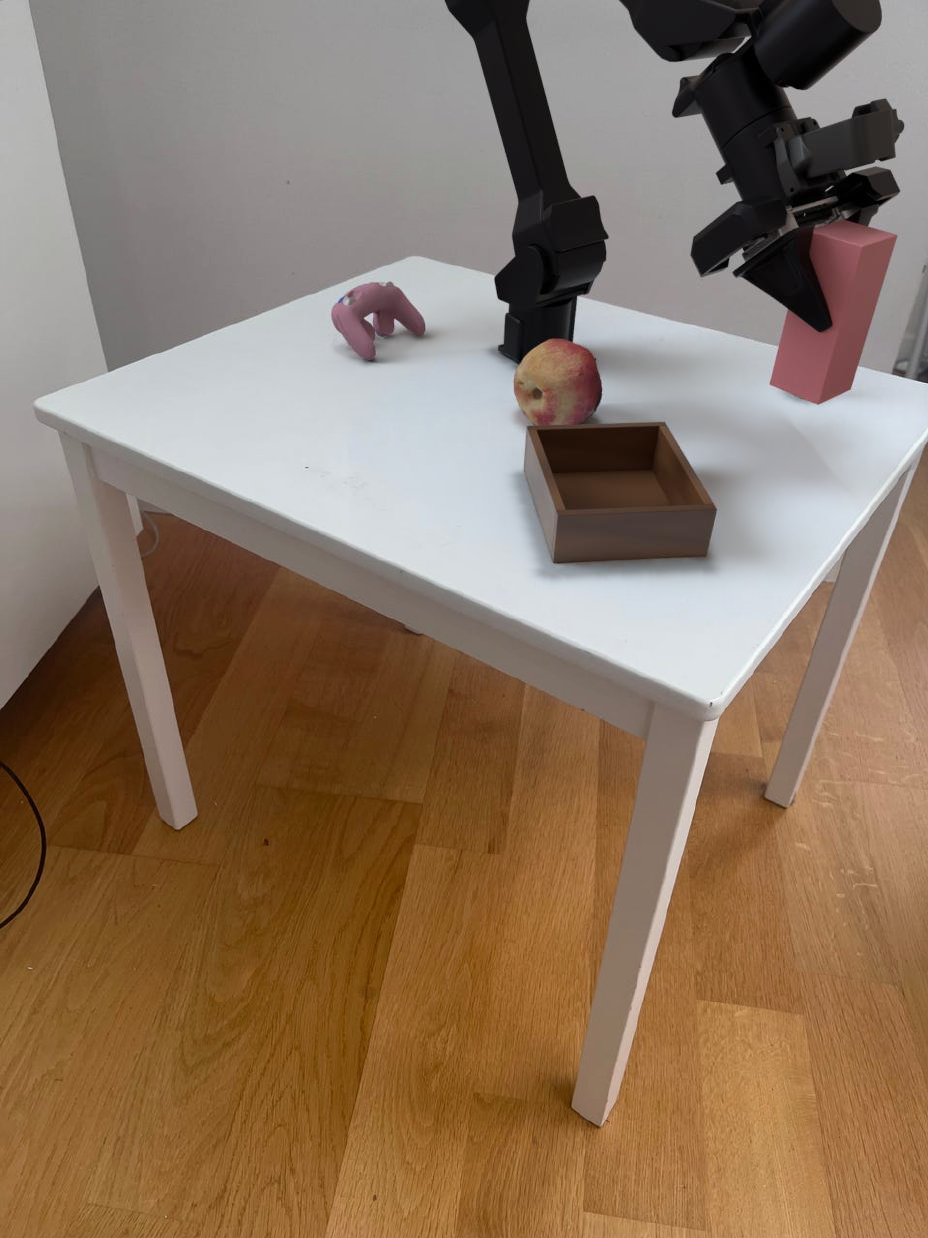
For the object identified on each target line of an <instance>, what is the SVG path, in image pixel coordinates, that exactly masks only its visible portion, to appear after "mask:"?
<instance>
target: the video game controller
mask: <svg viewBox="0 0 928 1238" xmlns="http://www.w3.org/2000/svg"><path fill="white" fill-rule="evenodd" d="M371 314H372V315H373V316H372V324H371V322H370V321H368V320H367V319H365V318H366V317H368V316H370V315H371ZM330 317H331V321H332V324H333V326H334V328H335V330H336V331H338V333H340V334H341V336H342V337H343V339H344V340H345V341H346V343H347V344H348V345H349V347H350V348H351V349H352V350H353V352H355V353H356V354H357V355H358V356H360V357H361V358H363V359H364V360H366V361H372V360H374V359H375V357H376V355H377V354H376V350H377V349H376V346H375V343H374V342H375V340H376V336H378V337H380V338H386V337H388V336H391V335H392V334H393V333H394V332H395V320H396V321H397V322H398V323H399V324H401V325H402V326H403V327H404V328H405V329H406V330H407V331H409V332H410V333H412V334H414V335H417V336H423V335H424V334H425V333H426V329H427V328H426V322H425V319H424V317H423V315H422V314H421V312H420V311H419V310H418V309H417V308H416V306H415V305H414V304H413V303H412V302H411V301H410V300H409V298H408V297H407V296H406V294H405V293H404V292H403V290H402V289H401V288H400V287H398V286H396V285H395V284H394V282H393V281H387V282H386V281H379V282H378V281H376V282H375V281H371V282H368V283H362V284H360V285H358V286H356V287H353V288H352V289H350V290H349V291H347V292H346V293H344V295H343V296H342V297H340V298H339V299H338V301H337V302H335V303H334V305H333V306H332V307H331V311H330Z"/></svg>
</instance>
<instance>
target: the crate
mask: <svg viewBox="0 0 928 1238" xmlns="http://www.w3.org/2000/svg"><path fill="white" fill-rule="evenodd" d="M525 427H526V429H525V442H524V455H523V456H524V457H523V468H522V469H523V474H524V476H525V480H526V484H527V486H528V487H527V488H528V490H529V493H530V495H531V499H532V502H533V505H534V508H535V512H536V516H537V518H538V521H539V524H540V527H541V530H542V533H543V536H544V540H545V543H546V546H547V549H548V553H549V555H550V558H551V562H552V564H569V563H570V564H572V563H574V564H575V563H592V562H593V563H594V562H615V561H636V560H659V559H661V560H662V559H679V558H680V559H683V558H701V557H702V558H703V557H707V556H708V553H709V547H710V544H711V540H712V539H711V538H712V534H713V530H714V525H715V520H716V516H717V511H718V508H717V506H716V505H715V503H714V501H713V499H712V498H711V496H710V494H709V493H708V491H707V489H706V488H705V486H704V484H703V483H702V481H701V479H700V478H699V476H698V474H697V473H696V471H695V470H694V468H693V466H692V465H691V463H690V461H689V459H688V458H687V456H686V454H685V453H684V452H683V450H682V448H681V446H680V445H679V443H678V441H677V440H676V438H675V436H674V435H673V433H672V432H671V430H670V427H668V424H667V423H666V422H665V421H644V422H642V421H641V422H613V423H608V422H607V423H580V424H574V425H541V426H535V425H526V426H525Z"/></svg>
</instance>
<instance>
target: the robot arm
mask: <svg viewBox="0 0 928 1238" xmlns="http://www.w3.org/2000/svg"><path fill="white" fill-rule="evenodd" d="M880 1H881V0H618V2H620V4H621V5H622V6H623V7H624V8H625V9H626V10H627V12H628V14H629V18H630V21H631V24H632V27H633V29H634V31H635V32H636V33H637V34H638V35H639V37H641V39H642V40H643V41H644V42H645V43H646V44H647V45H648V46H649V47H650V49H651V50H652V51H653V52H654V53H655V54H656V55H657V56H658V57H659V58H660V59H661V60H664V61H667V62H669V63H680V62H689V61H696V60H705V59H711V58H714V59H713V60H712V61H711V62H710V63H709V64H708V65H707V66H706V67H705V68H704V70H703V71H701V72H700V73H699V74H697V75H689V76H683V77H681V78H680V79H679V88H678V93H677V95H676V97H675V99H674V101H673V105H672V109H671V116H672V117H673V118H675V119H679V118H685V117H692V116H697V115H701V117H702V119H703V120H704V123H705V125H706V127H707V128H708V131H709V133H710V135H711V138H712V140H713V143H714V144H715V146H716V148H717V150H718V152H719V154H720V156H721V159H722V161H723V163H724V165H723V166H722V167H721V168H719V169H718V170H717V171H716V172H715V175H716V177H717V180H718V182H719V184H720V185H727V184H731V183H733V185H734V187H735V189H736V191H737V193H738V195H739V198H740V199H741V200H739V201H736V202H735V203H733V204H732V205H730V207H729V208H727V209H726V210H724V212H722V213H721V214H720V215H719V216H717V217H716V218H715V219H714V220H713V221H711V222H710V223H708V224H707V225H706V226H705V227H704V228H702V229H701V230H699V232H697V233H696V234H695V235H694V236H693V237H692V243H691V247H690V248H691V249H690V253H689V256H690V257H691V260H692V262H693V264H694V266H695V268H696V270H697V272H698V275H699V277H700V278H705V277H707V276H711V275H714V274H717V273H721V272H723V271H725V270H726V269H727V268H729V264H730V258H731V257H732V256H734V255H735V254H737V253H738V252H739V251H740V250H742V251H743V252H742V253H741V257H742V259H743V261H744V262H743V263H742V264H741V265H739V266H738V267H737V268H735V269H734V270H733V271H732V272H731V273H732V275H733V276H734V278H736V279H739V278H743V279H744V280H745V281H746V282H748V283H750V284H751V285H753V286H754V287H756V288H757V289H758V290H761V291H762V292H764V293H765V294H766V295H768V296H770V297H771V298H773V299H774V300H775V301H776V302H778V303H779V304H781V305H782V306H783V307H785V308H786V309H787V310H788V309H789V310H790V311H791V312H793V313H794V314H795V315H797V316H798V317H799V318H801V319H802V320H803V321H804V322H806V323H807V324H808V325H810V326H811V327H812V328H814V329H815V330H816V331H818V332H823V331H825V330H827V329H829V328H830V327H832V325H833V323H832V319H831V316H830V312H829V308H828V305H827V302H826V299H825V297H824V294H823V291H822V288H821V286H820V283H819V280H818V277H817V275H816V272H815V269H814V266H813V264H812V261H811V259H810V247H811V242H812V237H813V232H814V228H816V227H819V226H823V225H826V224H829V223H833V222H836V221H839V220H846V221H850V222H853V223H857V224H860V225H864V226H868V227H869V225H870V223H871V220H872V218H873V217H874V216H875V215H877V214H878V213H879V208H880V207H882V206H883V205H885V204H886V203H888V202H889V201H890V200H892V199H894V198H895V197H897V196H898V195H899V194H900V193H901V189H900V187H899V185H898V183H897V180H896V178H895V177H894V174H893V172H892V170H891V169H889V168H884V167H880V166H871V167H868V168H867V167H866V168H863V169H860V170H856V171H852V172H850V173H848V174H846V172H847V171H850V170H853V169H854V170H855V169H857V168H860V167H865V166H868V165H872V164H875V162H876V161H879V162H886V161H889V160H893V159H895V158H896V156H897V155H896V143H897V142H898V139H899V138H900V136H901V135H900V134H902V133H903V132H904V131H905V122H904V121H903V120H902V119H899V116H898V111H897V110H898V109H897V108H893V107H892V105H891V104H890V101H888V99H887V98H886V97H885V98H880V99H875V100H874V99H873V100H872V101H870V102H868V103H865V104H861V105H857V106H855V107H854V108H853V111H852V114H851V117H850V118H847V119H844V120H841V121H838V122H835V123H831V124H828V125H826V126H823V127H820V125H819V122H818V120H817V119H815V118H812V116H806V117H801V118H798V117H797V114H796V112H795V110H794V108H793V106H792V103H791V102H790V100H789V97H788V95H787V93H786V91H785V88H786V89H788V88H792V89H795V90H798V91H808V90H809V89H811V88H812V87H813V86H815V85H816V84H817V83H819V81H820V80H822V79H823V78H824V77H825V76H826V75H827V74H828V73H830V72H831V71H832V70H833V69H834V68H836V67H837V66H838V65H839V64H840V63H841V62H842V61H844V60H845V59H846V58H847V57H848V56H849V55H851V54H852V53H853V52H854V51H855V50H856V49H857V48H858V47H859V46H861V45H862V44H863V43H864V42H865V41H867V40H868V39H869V38H870V37H871V36H872V35H873V34H875V33H876V32H877V31H878V30H879V28H880V27H881V25H882V20H883V11H882V10H883V9H882V6H881V2H880ZM444 3H445V5H446V7H447V10H448V12H449V13H450V14H451V15H452V16H453V18H454V19H455V20H456V21H457V22H458V23H459V24H460V26H461V27H462V28H463V29H464V31H466V33H468V35H469V36H470V37H471V38H472V40H473V42H474V46H475V49H476V52H477V53H476V54H477V56H478V59H479V63H480V66H481V67H480V68H481V71H482V74H483V78H484V81H485V85H486V88H487V92H488V96H489V99H490V103H491V107H492V110H493V114H494V118H495V121H496V125H497V127H498V132H499V136H500V139H501V142H502V146H503V149H504V150H503V151H504V154H505V157H506V162H507V164H508V168H509V172H510V175H511V179H512V182H513V186H514V190H515V193H516V198H517V208H516V212H515V218H514V222H513V225H512V226H513V227H512V232H511V240H512V246H513V251H514V256H513V258H512V259H510V261H509V262H508V263H507V264H506V265H504V266H503V267H502V269H500V271H499V272H498V273H497V274H496V275H495V276H494V278H493V280H494V287H495V292H496V298H497V300H499V301H501V302H503V303H506V304H508V311H507V312H506V313H505V314H504V329H503V343H501V344H498V345H497V352H499V353H501V354H503V355H504V356H505V357H507V358H508V359H510V360H512V361H513V362H515V363H517V365H518V366H519V365H520V363H521V362H522V360H523V359H524V357H525V356H526V355H527V354H528V353H529V352H530V351H531V350H533V349H534V348H535V347H537V346H539V345H540V344H542V343H544V342H545V341H547V340H549V339H566V340H568V341H571V342H573V343H574V336H575V326H576V316H577V306H578V297H580V296H586V295H588V294H590V292H591V289H592V287H593V285H594V283H595V280H596V278H597V277H598V276H599V275H600V273H601V272H602V269H603V267H604V263H605V262H606V261H607V247H606V246H607V245H606V240H608V239H610V236H609V234H608V232H607V231H606V229H605V226H604V223H603V221H602V215H601V208H600V203H599V201H598V199H597V197H596V195H594V194H591V195H587V196H583V197H582V196H581V195H580V194H579V193H578V192H577V190H576V189H574V188H573V186H572V184H571V183H570V180H569V178H568V174H567V171H566V166H565V162H564V159H563V155H562V151H561V147H560V144H559V140H558V136H557V132H556V128H555V124H554V121H553V116H552V113H551V109H550V106H549V102H548V97H547V94H546V91H545V90H546V89H545V87H544V83H543V79H542V75H541V70H540V67H539V63H538V60H537V55H536V52H535V48H534V45H533V41H532V36H531V33H530V29H529V26H528V17H527V16H528V12H529V7H530V3H531V0H444ZM746 38H748V39H747V40H746V41H745V39H746ZM744 41H745V42H744ZM743 42H744V43H743ZM734 51H735V52H734Z"/></svg>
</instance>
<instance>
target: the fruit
mask: <svg viewBox="0 0 928 1238" xmlns="http://www.w3.org/2000/svg"><path fill="white" fill-rule="evenodd" d="M513 376H514V377H513V392H514V396H515V400H516V402H517V405H518V407H519V409H520V410H521V412H522V414H523V415H524V416H525V417H526V418H527V420H528V421H529V422H530V423H531V424H532V425H533V426H541V425H574V424H583V422H585V421H586V420H587V419H588V418H590V417H592V416H593V415H594V413H597V410H598V408H599V405H600V404H601V402H602V401H601V400H602V397H603V382H602V378H601V374H600V371H599V369H598V364H597V358H596V357H595V356H594V354H593V353H592V351H590V350H589V349H588V348H587V347H585V346H582V345H580V344H578V343H575V342H574V341H573V342H571V341H568V340H566V339H549V340H547V341H545V342H544V343H542V344H540V345H539V346H537V347H535V348H534V349H533V350H531V351H530V352H529V353H528V354H527V355H526V356H525V357H524V359H523V360H522V362H521V363H520V365H519V364H518V366H517V368H516V370H515V372H514V375H513Z"/></svg>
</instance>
